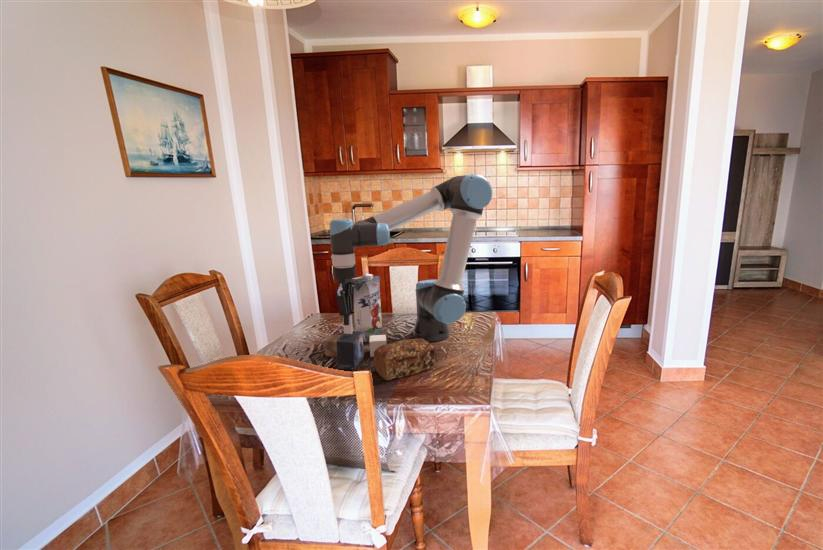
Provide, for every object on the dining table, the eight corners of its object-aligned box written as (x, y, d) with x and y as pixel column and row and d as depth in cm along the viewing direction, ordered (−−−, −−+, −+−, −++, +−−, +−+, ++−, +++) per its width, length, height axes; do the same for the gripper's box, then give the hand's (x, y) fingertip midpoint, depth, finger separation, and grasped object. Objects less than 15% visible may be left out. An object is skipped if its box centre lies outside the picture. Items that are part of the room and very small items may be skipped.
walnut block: (347, 351, 149) (346, 336, 148) (338, 357, 144) (337, 342, 143) (333, 349, 151) (332, 334, 150) (325, 355, 146) (323, 340, 145)
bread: (386, 383, 123) (384, 353, 121) (373, 370, 133) (371, 342, 130) (436, 368, 132) (436, 341, 130) (421, 357, 141) (420, 331, 139)
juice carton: (352, 340, 160) (347, 275, 154) (369, 332, 168) (365, 270, 162) (369, 344, 155) (364, 277, 149) (385, 335, 163) (382, 272, 157)
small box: (355, 371, 132) (353, 341, 130) (337, 370, 134) (334, 341, 132) (365, 357, 143) (363, 330, 140) (348, 357, 144) (346, 330, 142)
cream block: (386, 349, 149) (385, 334, 148) (386, 356, 144) (385, 340, 142) (370, 350, 149) (369, 335, 148) (370, 357, 143) (369, 341, 142)
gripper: (340, 262, 138) (344, 326, 143) (325, 269, 125) (330, 339, 130) (361, 262, 136) (364, 326, 141) (347, 269, 124) (352, 340, 129)
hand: (348, 332), depth 136 cm, fingers closed
